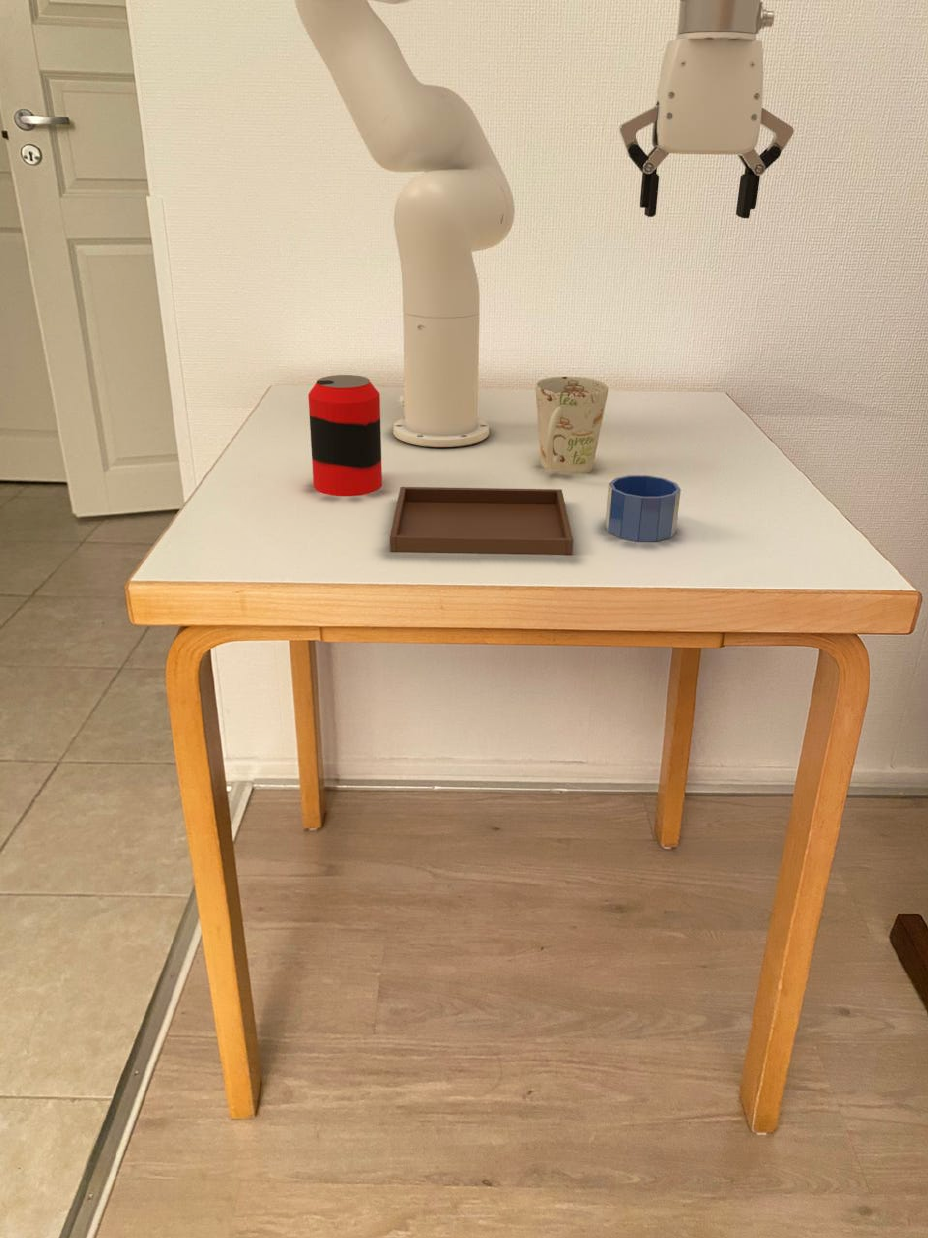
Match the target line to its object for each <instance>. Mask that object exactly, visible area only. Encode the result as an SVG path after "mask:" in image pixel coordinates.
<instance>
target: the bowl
mask: <svg viewBox="0 0 928 1238" xmlns="http://www.w3.org/2000/svg"><path fill="white" fill-rule="evenodd" d="M607 488H608V491H607V500H606V502H607V503H606V512H605V514H606V515H605V525H604V526H605V528H606V530H607V531H608V533H610V534H611V535H613V536H615V537H617V538H619V539H623V540H626V541H633V542H640V543H641V542H642V543H643V542H644V543H651V542H652V543H653V542H655V543H656V542H660V541H665V540H668V539H671V538H672V537H673V536H674V534H675V533H676V532H677V524H678V516H679V508H680V499H681V491H682V490H681V487H680V485H678V483H676V482H675V481H672V480H670V479H667V478H664V477H661V476H660V477H659V476H654V475H648V474H630V475H623V476H619V477H614V479H612V480H611V481H610V482H609V483H608V487H607Z"/></svg>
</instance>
